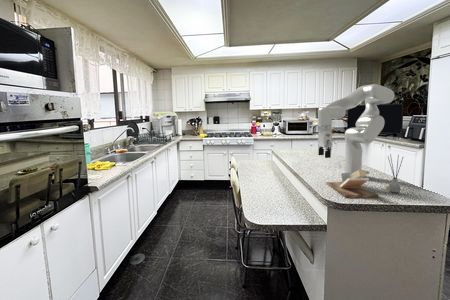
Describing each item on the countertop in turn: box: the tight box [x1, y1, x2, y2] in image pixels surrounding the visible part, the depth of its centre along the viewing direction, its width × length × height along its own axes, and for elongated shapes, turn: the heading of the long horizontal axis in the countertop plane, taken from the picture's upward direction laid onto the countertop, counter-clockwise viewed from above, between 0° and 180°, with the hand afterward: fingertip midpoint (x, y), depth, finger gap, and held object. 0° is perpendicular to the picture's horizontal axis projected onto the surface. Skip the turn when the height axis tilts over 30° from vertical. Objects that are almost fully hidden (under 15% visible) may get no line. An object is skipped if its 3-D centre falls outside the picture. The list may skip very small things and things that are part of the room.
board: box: [324, 181, 380, 199], centre depth 125 cm, size 16×24×2 cm, turn 179°
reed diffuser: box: [385, 153, 404, 193], centre depth 120 cm, size 10×7×20 cm
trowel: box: [340, 169, 367, 183], centre depth 119 cm, size 8×6×13 cm
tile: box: [340, 177, 370, 188], centre depth 121 cm, size 10×11×1 cm
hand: (324, 156), depth 142 cm, fingers open, 9 cm apart
